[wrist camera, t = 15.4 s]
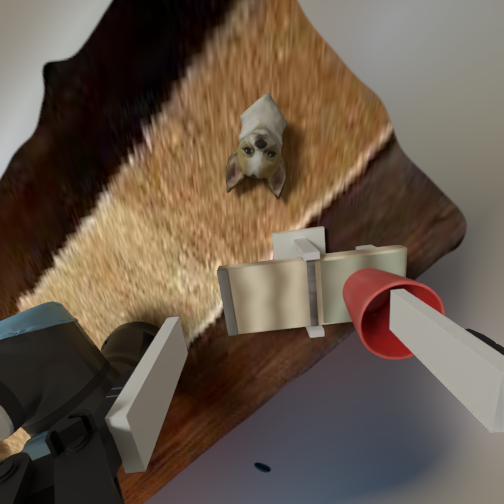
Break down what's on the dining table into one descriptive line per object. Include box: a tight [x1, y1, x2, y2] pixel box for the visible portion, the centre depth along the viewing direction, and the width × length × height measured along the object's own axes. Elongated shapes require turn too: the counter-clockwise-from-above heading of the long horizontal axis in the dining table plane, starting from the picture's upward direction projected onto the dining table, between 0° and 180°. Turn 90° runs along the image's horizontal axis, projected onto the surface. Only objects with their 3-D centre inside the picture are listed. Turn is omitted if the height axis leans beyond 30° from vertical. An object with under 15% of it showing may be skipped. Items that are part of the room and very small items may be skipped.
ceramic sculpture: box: [226, 93, 287, 200], centre depth 39 cm, size 11×9×15 cm
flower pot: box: [342, 268, 445, 360], centre depth 34 cm, size 11×11×10 cm
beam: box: [217, 245, 407, 336], centre depth 40 cm, size 30×12×3 cm, turn 97°
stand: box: [271, 226, 377, 338], centre depth 43 cm, size 20×18×11 cm
